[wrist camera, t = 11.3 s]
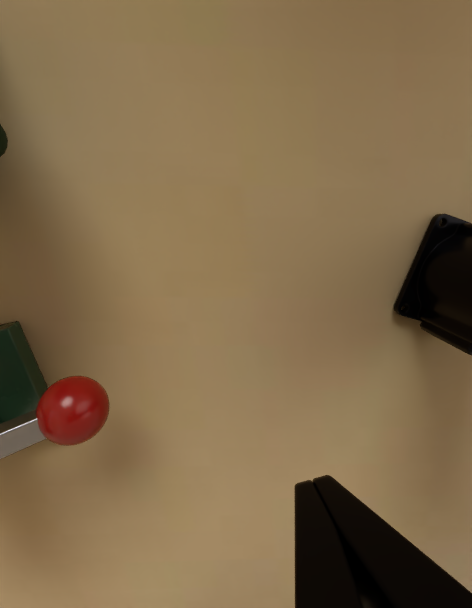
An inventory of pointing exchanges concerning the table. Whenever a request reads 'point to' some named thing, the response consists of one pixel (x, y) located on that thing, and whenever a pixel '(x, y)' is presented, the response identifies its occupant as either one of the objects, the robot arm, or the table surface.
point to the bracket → (18, 374)
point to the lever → (59, 416)
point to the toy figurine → (2, 141)
